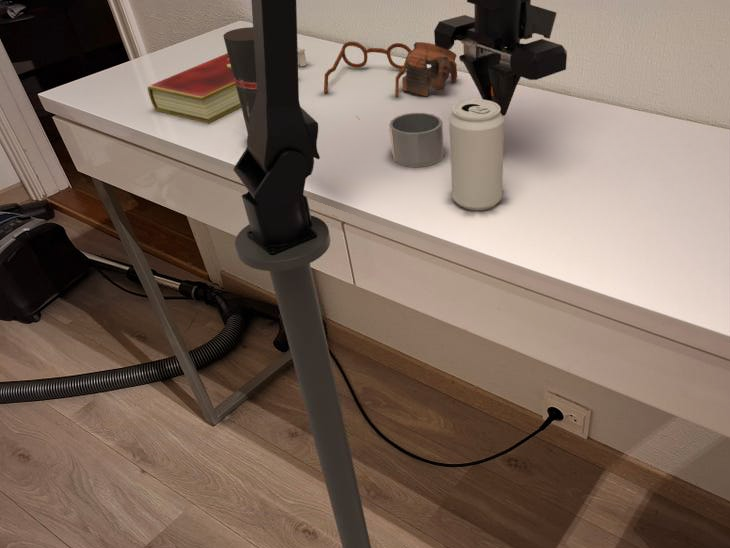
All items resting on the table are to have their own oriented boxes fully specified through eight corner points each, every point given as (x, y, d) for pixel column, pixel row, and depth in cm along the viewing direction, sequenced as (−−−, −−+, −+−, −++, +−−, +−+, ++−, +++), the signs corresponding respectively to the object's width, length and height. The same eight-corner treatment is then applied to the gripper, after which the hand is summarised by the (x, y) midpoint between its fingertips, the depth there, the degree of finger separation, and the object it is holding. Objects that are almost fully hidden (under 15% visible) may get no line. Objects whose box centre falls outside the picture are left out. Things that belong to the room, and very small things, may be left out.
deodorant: (271, 153, 97) (245, 43, 87) (241, 144, 99) (213, 36, 89) (299, 138, 101) (278, 31, 91) (270, 130, 103) (246, 25, 93)
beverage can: (474, 184, 89) (472, 93, 81) (512, 198, 86) (514, 105, 78) (442, 202, 86) (437, 109, 78) (481, 218, 82) (480, 123, 74)
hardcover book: (154, 110, 110) (145, 84, 107) (243, 70, 123) (237, 46, 121) (208, 123, 105) (201, 96, 103) (295, 80, 119) (290, 55, 116)
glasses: (414, 71, 122) (412, 41, 119) (397, 97, 112) (395, 66, 109) (345, 68, 124) (341, 39, 120) (322, 94, 114) (317, 63, 111)
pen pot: (413, 172, 92) (411, 138, 89) (383, 155, 96) (379, 122, 93) (453, 156, 96) (452, 123, 92) (422, 140, 100) (420, 108, 96)
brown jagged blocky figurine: (389, 89, 117) (400, 39, 115) (436, 104, 122) (447, 57, 120) (420, 91, 107) (432, 37, 105) (469, 108, 113) (482, 56, 111)
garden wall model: (308, 65, 125) (302, 31, 121) (300, 68, 124) (294, 33, 120) (269, 52, 131) (262, 19, 127) (261, 55, 130) (254, 22, 126)
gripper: (603, -16, 78) (590, 117, 88) (494, -41, 89) (494, 80, 99) (536, 3, 73) (530, 141, 83) (428, -27, 83) (435, 100, 93)
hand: (497, 113), depth 90 cm, fingers closed
